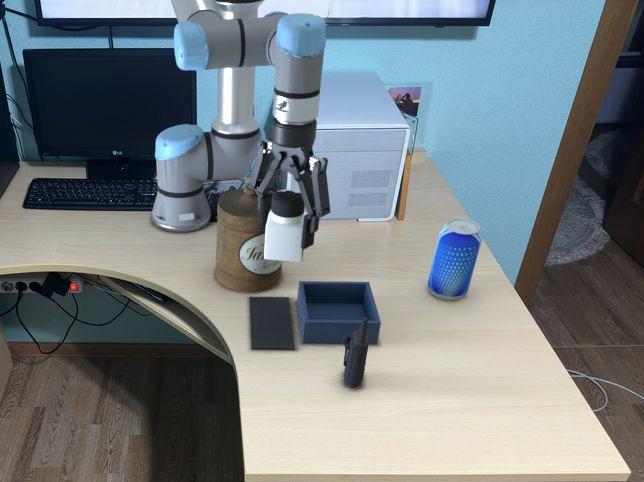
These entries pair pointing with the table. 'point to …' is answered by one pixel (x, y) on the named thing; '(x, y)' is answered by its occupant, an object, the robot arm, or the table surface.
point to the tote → (336, 311)
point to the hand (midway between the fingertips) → (285, 236)
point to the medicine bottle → (285, 227)
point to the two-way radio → (356, 355)
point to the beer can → (454, 259)
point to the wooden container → (243, 244)
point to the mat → (271, 324)
